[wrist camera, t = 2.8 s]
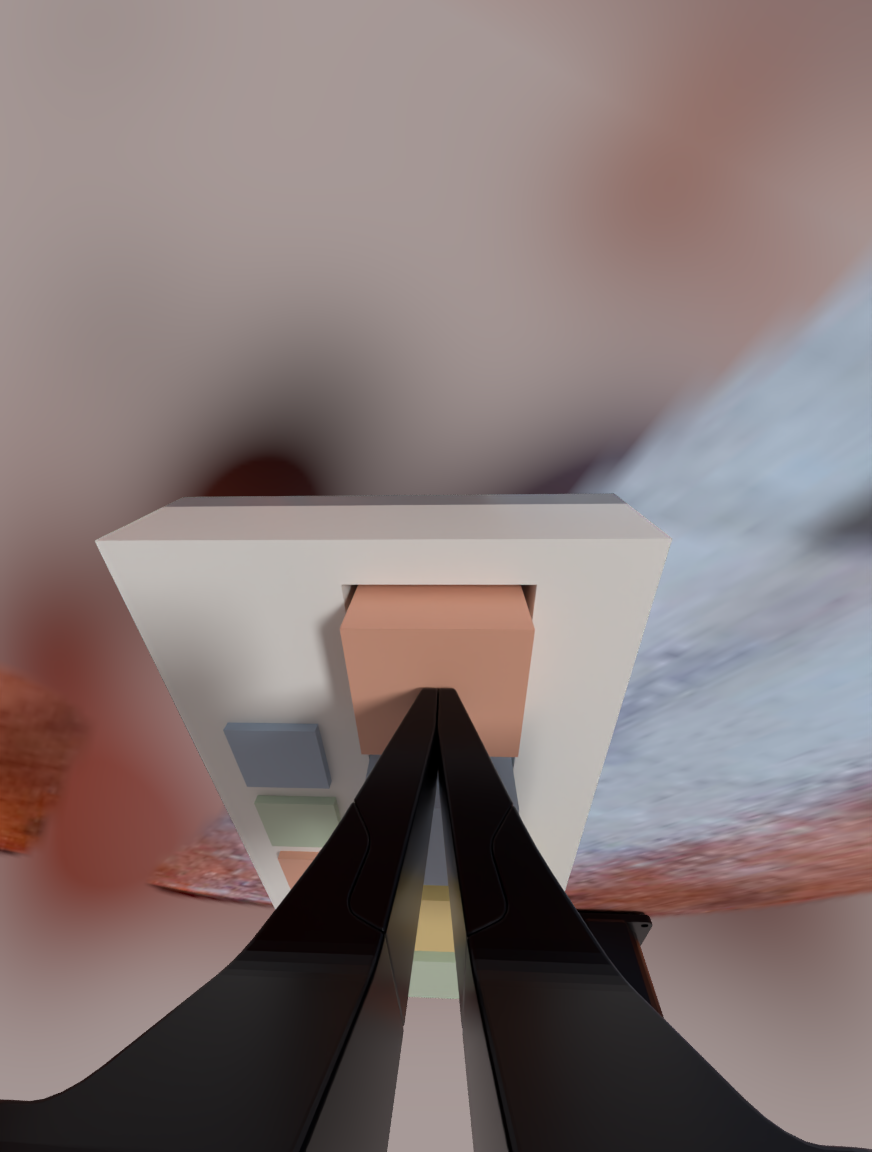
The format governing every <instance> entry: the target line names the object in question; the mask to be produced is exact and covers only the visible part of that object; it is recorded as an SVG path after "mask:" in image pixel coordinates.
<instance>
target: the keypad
mask: <svg viewBox="0 0 872 1152" xmlns="http://www.w3.org/2000/svg"><path fill="white" fill-rule="evenodd" d="M671 541H672V538H671V537H670V536H668V535H667V534H666V533H664V532H663V531H662V530H660V529H659V528H658V527H657V526H655V525H654V524H653V523H651V522H650V521H649V520H648V519H646V518H645V517H644V516H642V515H641V514H640V513H639V512H637V511H636V510H635V509H633V508H632V507H631V506H629V505H628V504H627V503H626V502H624V501H623V500H622V499H620V498H619V497H618V496H617V495H615V494H520V495H519V494H511V495H391V496H390V495H386V496H385V495H384V496H271V497H270V496H267V497H266V496H265V497H264V496H263V497H262V496H260V497H183V498H181V499H179V500H177V501H175V502H173V503H171V504H169V505H167V506H165V507H163V508H161V509H158V510H156V511H154V512H152V513H150V514H149V515H146V516H144V517H142V518H140V519H138V520H136V521H134V522H132V523H130V524H128V525H126V526H124V527H122V528H120V529H118V530H115V531H113V532H111V533H110V534H107V535H105V536H103V537H101V538H99V539H97V540H95V542H96V545H97V547H98V548H99V550H100V553H101V555H102V557H103V559H104V561H105V563H106V565H107V567H108V569H109V571H110V573H111V575H112V577H113V579H114V581H115V583H116V585H117V587H118V589H119V591H120V594H121V595H122V598H123V600H124V601H125V604H126V606H127V608H128V610H129V612H130V614H131V616H132V618H133V620H134V622H135V624H136V626H137V628H138V630H139V632H140V634H141V636H142V638H143V640H144V642H145V644H146V646H147V648H148V650H149V653H150V655H151V657H152V658H153V661H154V663H155V665H156V667H157V669H158V671H159V673H160V675H161V677H162V679H163V681H164V683H165V685H166V687H167V689H168V691H169V693H170V695H171V697H172V699H173V702H174V704H175V705H176V708H177V709H178V712H179V714H180V716H181V718H182V720H183V722H184V724H185V726H186V728H187V730H188V732H189V734H190V736H191V738H192V740H193V742H194V744H195V746H196V749H197V750H198V753H199V755H200V757H201V759H202V761H203V763H204V765H205V767H206V769H207V771H208V773H209V775H210V777H211V779H212V781H213V783H214V785H215V787H216V789H217V791H218V793H219V795H220V797H221V800H222V802H223V804H224V806H225V808H226V810H227V812H228V814H229V816H230V818H231V820H232V822H233V824H234V826H235V828H236V830H237V832H238V834H239V836H240V838H241V840H242V842H243V844H244V846H245V848H246V850H247V853H248V855H249V857H250V859H251V861H252V863H253V865H254V867H255V869H256V871H257V873H258V875H259V877H260V879H261V881H262V883H263V885H264V887H265V889H266V891H267V893H268V895H269V897H270V899H271V901H272V904H273V906H274V908H275V910H276V908H277V907H278V906H279V904H280V903H281V902H282V900H283V899H284V898H285V896H286V895H287V894H288V893H289V891H290V890H291V889H292V887H293V886H294V885H295V883H296V882H297V881H298V880H299V878H300V877H301V876H302V874H303V873H304V872H305V870H306V869H307V868H308V866H309V865H310V864H311V862H312V861H313V860H314V858H315V857H316V856H317V854H318V853H319V851H320V850H321V849H322V847H323V846H324V845H325V843H326V842H327V840H328V839H329V837H330V836H331V834H332V833H333V831H334V830H335V828H336V827H337V825H338V824H339V822H340V821H341V819H342V817H343V816H344V814H345V813H346V811H347V809H348V808H349V806H350V804H351V803H352V802H354V798H355V797H356V795H357V793H358V792H359V790H360V788H361V787H362V785H363V784H364V782H365V779H366V774H367V769H368V765H369V760H370V755H368V754H361V749H360V743H359V737H358V732H357V726H356V720H355V714H354V708H353V703H352V697H351V691H350V685H349V680H348V674H347V668H346V662H345V657H344V651H343V645H342V639H341V634H340V626H341V624H342V622H343V619H344V617H345V615H346V612H347V610H348V608H349V605H350V603H351V601H352V598H353V596H354V593H355V591H356V589H357V586H358V585H521V588H522V591H523V594H524V597H525V600H526V603H527V606H528V609H529V612H530V616H531V619H532V622H533V625H534V628H535V634H534V641H533V649H532V656H531V664H530V671H529V679H528V686H527V694H526V701H525V709H524V716H523V724H522V732H521V739H520V747H519V754H518V757H511V760H512V766H513V773H514V779H515V786H516V792H517V799H518V805H519V815H520V817H521V819H522V821H523V823H524V825H525V827H526V829H527V830H528V832H529V834H530V836H531V838H532V840H533V841H534V843H535V845H536V847H537V848H538V850H539V852H540V853H541V855H542V857H543V858H544V860H545V861H546V863H547V865H548V866H549V868H550V870H551V871H552V873H553V874H554V876H555V877H556V879H557V881H558V882H559V884H560V885H561V887H562V888H563V890H564V891H565V889H566V886H567V882H568V879H569V876H570V872H571V869H572V866H573V863H574V859H575V856H576V853H577V849H578V846H579V843H580V840H581V836H582V833H583V830H584V826H585V823H586V820H587V817H588V813H589V810H590V807H591V804H592V800H593V797H594V794H595V790H596V787H597V784H598V781H599V777H600V774H601V771H602V767H603V764H604V761H605V758H606V754H607V751H608V748H609V744H610V741H611V738H612V735H613V731H614V728H615V725H616V722H617V718H618V715H619V712H620V708H621V705H622V702H623V699H624V695H625V692H626V689H627V685H628V682H629V679H630V676H631V672H632V669H633V666H634V662H635V659H636V656H637V653H638V649H639V646H640V643H641V639H642V636H643V633H644V630H645V626H646V623H647V620H648V617H649V613H650V610H651V607H652V603H653V600H654V597H655V594H656V590H657V587H658V584H659V580H660V577H661V574H662V571H663V567H664V564H665V561H666V557H667V554H668V551H669V548H670V544H671Z"/></svg>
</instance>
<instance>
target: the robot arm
mask: <svg viewBox="0 0 872 1152" xmlns="http://www.w3.org/2000/svg"><path fill="white" fill-rule="evenodd" d="M437 780H438V782H439V794H440V805H441V815H442V826H443V836H444V846H445V857H446V867H447V877H448V888H449V898H450V909H451V919H452V929H453V940H454V950H455V960H456V971H457V981H458V992H459V1001H460V1012H461V1022H462V1028H463V1043H464V1053H465V1064H466V1075H467V1085H468V1095H469V1106H470V1115H471V1127H472V1137H473V1147H474V1152H872V1149H866V1148H857V1147H843V1146H825V1145H817V1144H813V1143H810V1142H806V1141H804V1140H802V1139H799V1138H798V1137H796V1136H793V1135H792V1134H789V1133H787V1132H786V1131H784V1130H783V1129H781V1128H780V1127H778V1126H777V1125H775V1124H774V1123H773V1122H771V1121H770V1120H768V1119H767V1118H766V1117H764V1116H763V1115H762V1114H761V1113H760V1112H759V1111H758V1110H757V1109H755V1108H754V1107H753V1106H752V1105H751V1104H750V1103H749V1102H748V1101H746V1100H745V1099H744V1098H743V1097H742V1096H741V1095H740V1094H739V1093H738V1092H737V1091H736V1090H735V1089H734V1088H733V1087H732V1086H731V1085H730V1084H729V1083H728V1082H727V1081H726V1080H725V1079H724V1078H723V1077H722V1076H721V1075H720V1074H719V1073H718V1072H717V1071H716V1070H715V1069H714V1068H713V1067H712V1066H711V1065H710V1064H709V1063H708V1062H707V1061H706V1060H705V1059H704V1058H703V1057H702V1056H701V1055H700V1054H699V1053H698V1052H697V1051H696V1050H695V1049H694V1048H693V1047H692V1046H691V1045H690V1044H689V1043H688V1042H687V1041H686V1040H685V1039H684V1038H683V1037H682V1036H681V1035H680V1034H679V1033H678V1032H677V1031H676V1030H675V1029H674V1028H672V1026H671V1025H670V1024H669V1023H668V1022H666V1020H665V1019H664V1017H663V1014H662V1011H661V1008H660V1005H659V1002H658V999H657V996H656V993H655V990H654V987H653V983H652V981H651V977H650V974H649V971H648V968H647V965H646V962H645V959H644V956H643V953H642V950H641V947H640V946H641V944H642V942H643V941H644V939H645V937H646V936H647V934H648V932H649V931H650V929H651V927H652V922H651V919H650V917H649V916H648V915H636V914H606V913H578V911H577V910H576V908H575V907H574V905H573V904H572V902H571V900H570V899H569V897H568V896H567V894H566V893H565V891H564V890H563V888H562V887H561V885H560V884H559V882H558V881H557V879H556V877H555V876H554V874H553V873H552V871H551V870H550V868H549V866H548V865H547V863H546V861H545V860H544V858H543V857H542V855H541V853H540V852H539V850H538V848H537V847H536V845H535V843H534V841H533V840H532V838H531V836H530V834H529V832H528V830H527V829H526V827H525V825H524V823H523V821H522V819H521V817H520V815H519V813H518V811H517V809H516V807H515V806H513V802H512V800H511V798H510V796H509V794H508V792H507V790H506V788H505V786H504V784H503V782H502V780H501V778H500V776H499V774H498V772H497V770H496V768H495V766H494V764H493V762H492V760H491V758H490V756H489V754H488V752H487V750H486V748H485V746H484V744H483V742H482V740H481V739H480V737H479V735H478V733H477V731H476V729H475V727H474V725H473V723H472V721H471V719H470V717H469V715H468V713H467V711H466V709H465V707H464V705H463V703H462V701H461V699H460V697H459V695H458V693H457V691H456V690H455V689H454V688H440V689H439V691H438V689H437V688H423V689H421V691H420V692H419V694H418V696H417V697H416V699H415V701H414V702H413V704H412V705H411V707H410V709H409V710H408V712H407V714H406V715H405V717H404V718H403V720H402V722H401V723H400V725H399V727H398V728H397V730H396V731H395V733H394V735H393V736H392V738H391V740H390V741H389V743H388V744H387V746H386V748H385V749H384V751H383V753H382V754H381V756H380V758H379V759H378V761H377V762H376V764H375V766H374V767H373V769H372V771H371V772H370V774H369V775H368V777H367V779H366V780H365V782H364V784H363V785H362V787H361V788H360V790H359V792H358V793H357V795H356V797H355V798H354V802H352V803H351V804H350V806H349V808H348V809H347V811H346V813H345V814H344V816H343V817H342V819H341V821H340V822H339V824H338V825H337V827H336V828H335V830H334V831H333V833H332V834H331V836H330V837H329V839H328V840H327V842H326V843H325V845H324V846H323V847H322V849H321V850H320V851H319V853H318V854H317V856H316V857H315V858H314V860H313V861H312V862H311V864H310V865H309V866H308V868H307V869H306V870H305V872H304V873H303V874H302V876H301V877H300V878H299V880H298V881H297V882H296V883H295V885H294V886H293V887H292V889H291V890H290V891H289V893H288V894H287V895H286V896H285V898H284V899H283V900H282V902H281V903H280V904H279V906H278V907H277V908H276V910H275V911H274V912H273V914H272V915H271V916H270V918H269V919H268V920H267V921H266V923H265V924H264V925H263V926H262V928H261V929H260V930H259V932H258V933H257V934H256V935H255V937H254V938H253V939H252V940H251V941H250V943H249V944H248V945H247V946H246V947H245V948H244V949H243V951H242V952H241V953H240V954H239V955H238V956H237V957H236V958H235V959H234V960H233V961H232V962H231V963H230V964H229V965H228V966H227V967H225V968H224V969H223V970H222V971H221V972H220V973H219V974H218V975H216V976H215V977H214V978H212V979H211V980H210V981H209V982H207V983H206V984H205V985H204V986H202V987H201V988H200V989H199V990H197V991H196V992H195V993H194V994H192V995H191V996H190V997H189V998H187V999H186V1000H185V1001H184V1002H182V1003H181V1004H180V1005H179V1006H177V1007H176V1008H175V1009H174V1010H172V1011H171V1012H170V1013H168V1014H167V1015H166V1016H165V1017H163V1018H162V1019H161V1020H160V1021H158V1022H157V1023H156V1024H155V1025H153V1026H152V1027H151V1028H150V1029H148V1030H147V1031H146V1032H145V1033H143V1034H142V1035H141V1036H140V1037H138V1038H137V1039H136V1040H135V1041H133V1042H132V1043H131V1044H129V1045H128V1046H127V1047H126V1048H124V1049H123V1050H122V1051H121V1052H119V1053H118V1054H117V1055H116V1056H114V1057H113V1058H112V1059H111V1060H110V1061H108V1062H107V1063H106V1064H104V1065H103V1066H102V1067H100V1068H99V1069H98V1070H96V1071H95V1072H94V1073H92V1074H91V1075H89V1076H88V1077H87V1078H85V1079H84V1080H82V1081H81V1082H79V1083H77V1084H75V1085H74V1086H72V1087H70V1088H68V1089H66V1090H65V1091H63V1092H61V1093H58V1094H55V1095H53V1096H50V1097H48V1098H45V1099H40V1100H34V1101H20V1100H0V1152H387V1147H388V1139H389V1133H390V1125H391V1118H392V1110H393V1103H394V1096H395V1089H396V1082H397V1074H398V1067H399V1060H400V1052H401V1045H402V1038H403V1026H404V1023H405V1015H406V1007H407V1000H408V993H409V986H410V979H411V972H412V964H413V957H414V950H415V942H416V935H417V928H418V921H419V913H420V906H421V899H422V891H423V884H424V877H425V869H426V862H427V855H428V848H429V840H430V833H431V826H432V818H433V811H434V804H435V796H436V789H437Z"/></svg>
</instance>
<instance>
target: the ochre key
mask: <svg viewBox="0 0 872 1152" xmlns="http://www.w3.org/2000/svg"><path fill="white" fill-rule="evenodd" d="M414 951H436V952H455V950H454V940H453V929H452V919H451V909H450V898H449V888H448V886H440V885H423V891H422V899H421V906H420V913H419V921H418V928H417V935H416V942H415V950H414Z"/></svg>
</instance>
